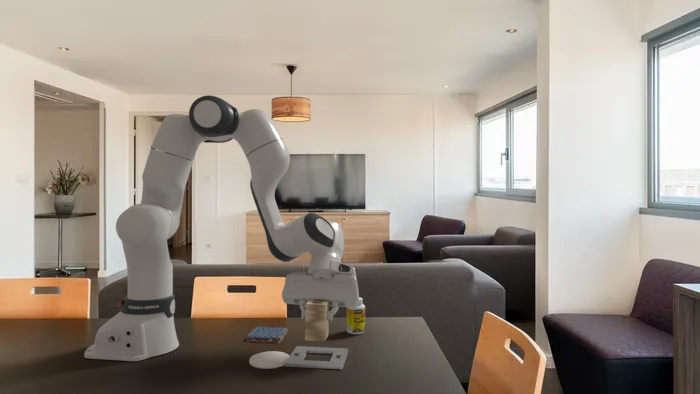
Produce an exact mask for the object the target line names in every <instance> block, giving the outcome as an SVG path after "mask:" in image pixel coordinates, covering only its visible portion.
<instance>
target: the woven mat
mask: <svg viewBox="0 0 700 394" xmlns="http://www.w3.org/2000/svg"><path fill="white" fill-rule="evenodd" d="M288 333H290V332H289V330H288V327H285V326H282V327H280V326H277V327H275V326H272V327H271V326H264V325H262V326H260V325H257V326H256V327H254V329H252V330H251V331H250V332H249V333H248V334H247V336H246V342H250V343H251V342H255V343H275V344H276V343H282V341H283V340H284V339H285V337H286V335H288Z"/></svg>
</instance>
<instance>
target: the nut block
mask: <svg viewBox="0 0 700 394" xmlns="http://www.w3.org/2000/svg"><path fill="white" fill-rule="evenodd" d="M329 307H330V306H329V301H326V300H309V301H308V302H307V303H306V308H305V310H306V316H305V319H304V320H305V322H304V323H305V327H304V329H305V330H304V340H305V341H309V342H310V341H316V342H326V340H327V338H328V336H329V323H330V322H329V321H330V320H327V319H326V315H327V311H330V308H329Z"/></svg>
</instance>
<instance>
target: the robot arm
mask: <svg viewBox="0 0 700 394" xmlns="http://www.w3.org/2000/svg"><path fill="white" fill-rule="evenodd" d="M190 105H191V106H190V107H189V111H188V115H186V114H183V113H182V114H181V113H172V114H168V115H166V116H165V118H163V121H162V122H161V124H160V126H159V128H158V129H157V131H156V134H155V136H154V138H153V141H152V144H151V148H150V149H149V153H148V156H147V160H146V161H145V166H144V169H143V171H142V175H141V179H142V192H141V201H140V203H138V204H137V203H136V204H133V205H132V206H129V207H128V208H126V209H125V210H124V211H123V212H121V214H119V216H118V218H117V220H116V223H115V231H116V234H117V236H118V238H119V239H120V241H121V245H122V248H123V253H124V258H125V263H126V269H127V295H126V296H125V297H124V298H122V299H121V300H120V301H118V302H117V304H118V305H117V307H118V308H120V311H119V312H118V313H117V314H115V315H114V316H113V317H111V318H110V319H109V320H108V321H107V322H105V323H104V324H102V326H100V327H99V328H98V330H97V332H96V335H95V339H94V343H93V344H90V346H88V347H87V348H86V350H85V351H84V354H83V356H84V358H85V359H92V360H107V361H108V360H111V361H124V362H125V361H126V362H139V361H142V360H146V359H148V358H152V357H158V356H161V355H164V354H167V353H170V352H172V351H175V350H176V349H177V348H178V347H179V346H180V343H179V342H180V341H179V339H178V336H177V332H176V326H175V317H174V314H175V310H176V301H175V293H173V292H174V288H173V287H174V285H173V282H174V280H173V279H174V268H173V267H174V266H173V262H172V261H171V257H170V252H169V246H168V240H169V239H171V238H172V237H173V236H174V235H175V233H176V232H177V231H178V229H179V226H180V222H181V221H180V217H181V215H182V209H183V203H184V202H183V201H184V195H185V189H186V186H187V183H188V180H189V175H190V173H191V170H192V167H193V164H194V161H195V160H194V159H195V157H196V154H197V150H198V148H199V146H200V145H201V144H202V143H203V142H204V143H213V144H214V143H215V144H217V143H218V144H223V143H227V142H230V141H233V140H235V141H236V143H238V145H240V149H242V151H243V153H244V156H245V158H246V160H247V162H248V165H249V168H250V175H251V176H250V178H251V179H250V181H249V185H250V187H249V188H250V191H251V194H252V198H253V201H254V204H255V207H256V210H257V213H258V215H259V218H260V220H261V224H262V226H263V229H264V233H265V237H266V242H267V247H268V249H269V250H268V251H269V252H270V254H271V255H272V256H273V257H274V258H275V259H277V260H278V261H281V262H283V263H289V262H291V261H293V260H295V259H297V258H299V257H300V256H302V255H304V254H306V253H309V254H310V256H311V258H310V261H309V265H308V270H307V271H291V272H290V273H288V274H286V276H285V279H284V280H285V281H284V286H283V289H282V291H281V298H282V301H283V302H284V304H285V305H299V308H300V310H301V314H300V317H301V320H305V316H306V303H307V302H308V301H309V300H326V301H329V307H332V308H331V310H329V311H327V315H326V319H327V320H329V321H333V320H334V316H335V315H336V313H337V312H338V311H339V308H340V307H341V308H342V307H345V308H347V307H356V306H357V305H358V304H359V297H360V295H359V294H360V293H359V286H358V285H359V284H358V279H357V272H356V268H355V267H354V266H352V265H348V264H346V263H343V262H342V258H343V257H344V256H343V255H344V251H345V235H344V234H345V233H344V230H343V228H342V226H341V225H340V224H339V223H338V222H336V221H333V220H326V219H325V218H324V217H322V216H321V215H319V214H317V213H315V212H309V213H305V214H304V215H302V216H299V217H297V218H296V219H294V220H292V221H290V222H287V223H286V224H285V223H284V220H283V219H282V215H281V214H280V213H281V212H280V210H279V208H278V204H277V201H276V198H275V193H276V189H277V187H278V185H279V183H280V182H281V181H282V179H283V178H284V176H285V175H286V173H287V172H288V169H289V167H290V163H291V156H290V153H289V150H288V147H287V145H286V143H285V141H284V139H283V137H282V135H281V134H280V132H279V130H278V128H277V127H276V125H275V124H274V122H273V121H272V119H271V118H270V117H269V116H268V115H267V113H266V112H265V111H264V110H262V109H258V108H251V109H247V110H246V111H245V110H244V111H243V112H240V111H239V109H238V108H236V106H233V105H232V104H230V103H228V101H226V100H225V99H223V98H221V97H218V96H215V95H209V94H207V95H202V96H200V97H198V98H196V99H195V100H194V101H193V102H192V103H191V104H190Z"/></svg>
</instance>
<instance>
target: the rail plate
mask: <svg viewBox="0 0 700 394" xmlns="http://www.w3.org/2000/svg"><path fill="white" fill-rule="evenodd" d="M348 353H349V348H347V347H346V348H345V347H344V348H343V347H327V346H326V347H324V346H323V347H321V346H305V345H304V346H303V345H296V347H294V349H293V351H292V352H291V353H290V354H289V358H288V359H287V361H286V362H285V365H284V367H286V368H287V367H288V368H289V367H290V368H306V369H307V368H308V369H328V370H343V369H344V365H345V362H346V359H347V357H348ZM307 354H316V355H317V354H321V355H323V354H324V355H331V357H330V360H329V361H328V360H311V359H310V360H308V359H305V358H306V356H307Z"/></svg>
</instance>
